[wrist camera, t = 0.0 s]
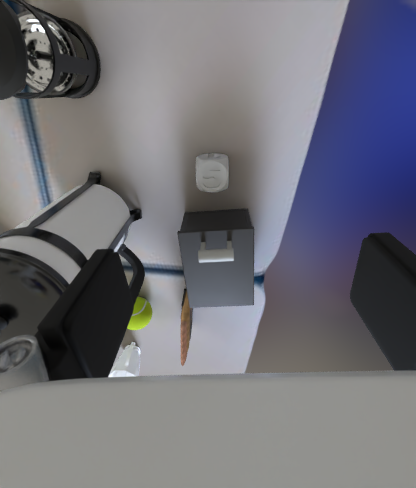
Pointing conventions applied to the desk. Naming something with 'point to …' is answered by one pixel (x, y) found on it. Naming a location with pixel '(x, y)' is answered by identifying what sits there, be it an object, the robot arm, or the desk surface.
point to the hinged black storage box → (216, 219)
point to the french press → (43, 55)
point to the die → (212, 172)
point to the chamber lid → (218, 266)
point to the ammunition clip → (185, 326)
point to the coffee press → (60, 252)
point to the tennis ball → (140, 314)
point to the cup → (127, 362)
